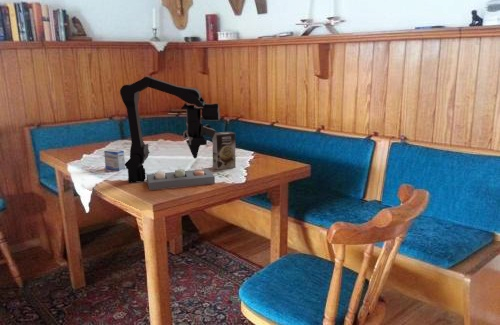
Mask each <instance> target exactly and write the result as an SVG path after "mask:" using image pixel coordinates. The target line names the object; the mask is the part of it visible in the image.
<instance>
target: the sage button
mask: <svg viewBox="0 0 500 325" xmlns="http://www.w3.org/2000/svg"><path fill="white" fill-rule="evenodd" d="M185 171H186V170H185V169H176V170H174V172H175V178H178V177H185Z"/></svg>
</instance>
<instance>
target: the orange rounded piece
mask: <svg viewBox="0 0 500 325" xmlns="http://www.w3.org/2000/svg"><path fill="white" fill-rule="evenodd" d="M199 175H204V171H195V176H199Z"/></svg>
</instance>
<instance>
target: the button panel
mask: <svg viewBox="0 0 500 325" xmlns="http://www.w3.org/2000/svg"><path fill="white" fill-rule="evenodd" d="M195 171H204V175H199V176H195ZM145 176H146V184H147V187H148V189H149V191H155V190H164V189H165V190H166V189H176V188H183V187H184V188H185V187H195V186H201V185H202V186H203V185H204V186H206V185H214V184H215V183H216V181H215V180H216V179H215V177H216V176H215V175H214V174H213V173H212V171H210V169H209V168H205V169H203V168H202V169H192V170H185V177H178V178H175V171H170V172H165V179H157V180H155V173H149V174H145Z"/></svg>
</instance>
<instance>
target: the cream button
mask: <svg viewBox="0 0 500 325" xmlns="http://www.w3.org/2000/svg"><path fill="white" fill-rule="evenodd" d="M165 173H166V172H165V171H161V170H158V171H155V172H154V174H155V180H157V179H165Z"/></svg>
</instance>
